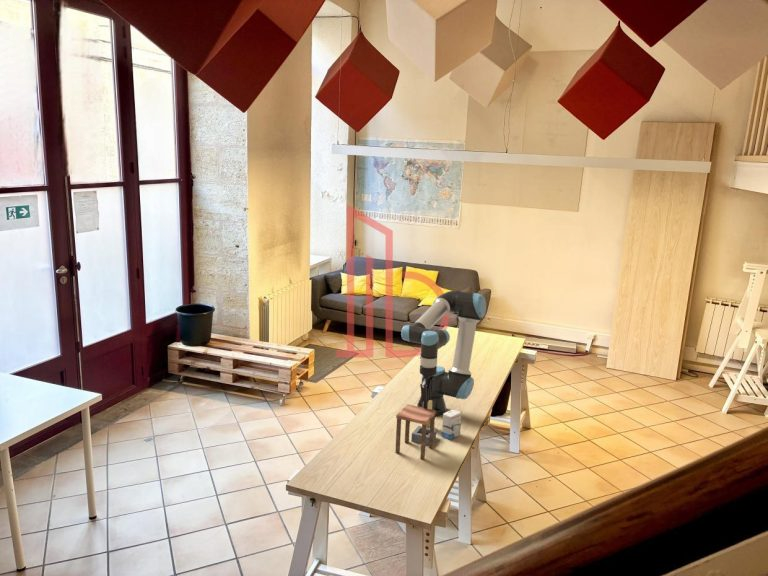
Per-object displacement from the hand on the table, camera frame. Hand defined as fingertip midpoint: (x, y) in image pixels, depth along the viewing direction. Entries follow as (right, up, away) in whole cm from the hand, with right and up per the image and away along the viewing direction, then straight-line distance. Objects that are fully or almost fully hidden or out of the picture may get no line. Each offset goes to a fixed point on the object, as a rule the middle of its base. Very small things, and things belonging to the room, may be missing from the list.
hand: (425, 413), depth 274 cm
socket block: (0, -14, +9) cm, 16 cm away
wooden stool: (-5, -16, -2) cm, 17 cm away
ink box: (+13, -13, +13) cm, 23 cm away
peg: (+2, -11, +21) cm, 24 cm away
